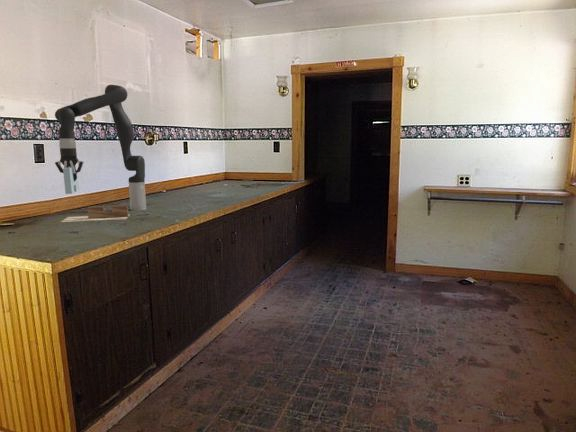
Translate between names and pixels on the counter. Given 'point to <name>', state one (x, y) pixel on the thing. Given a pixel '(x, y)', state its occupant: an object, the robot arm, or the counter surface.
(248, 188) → the counter surface
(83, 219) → the birch board
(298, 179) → the counter surface
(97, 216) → the walnut slotted plate
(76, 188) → the slotted cross plate
